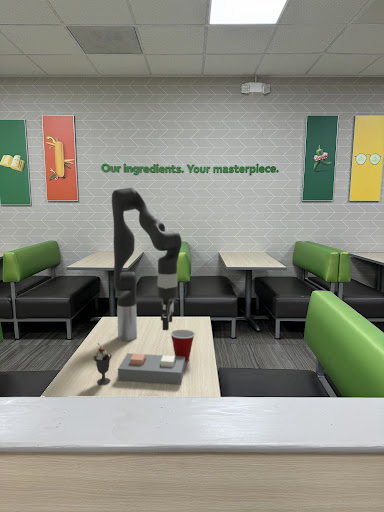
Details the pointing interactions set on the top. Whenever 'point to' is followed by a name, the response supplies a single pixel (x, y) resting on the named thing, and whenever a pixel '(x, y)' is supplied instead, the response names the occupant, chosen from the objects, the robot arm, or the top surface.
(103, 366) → the sundae
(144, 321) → the top surface
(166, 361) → the ivory key
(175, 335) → the plastic cup
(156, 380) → the key panel
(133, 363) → the terracotta key
